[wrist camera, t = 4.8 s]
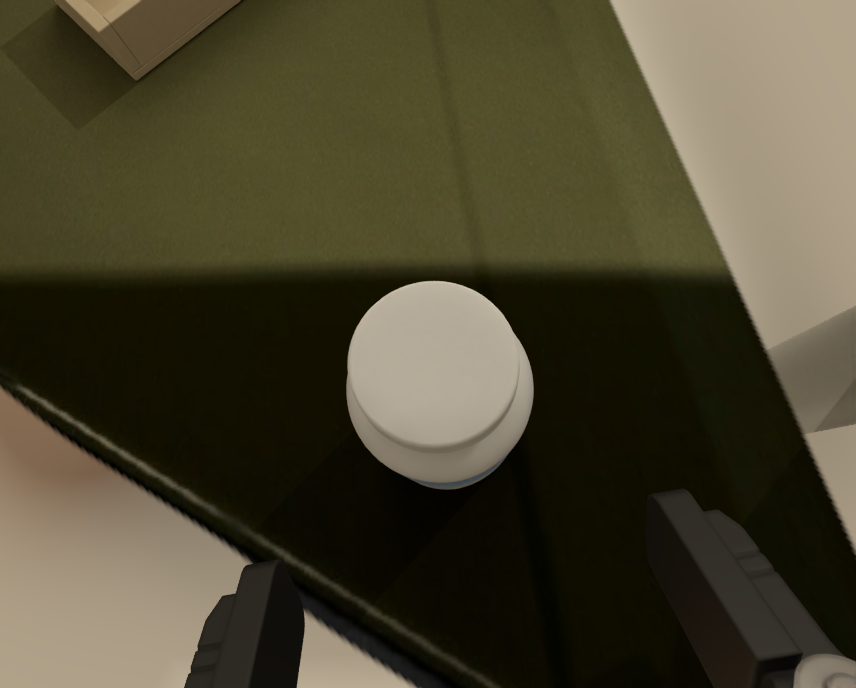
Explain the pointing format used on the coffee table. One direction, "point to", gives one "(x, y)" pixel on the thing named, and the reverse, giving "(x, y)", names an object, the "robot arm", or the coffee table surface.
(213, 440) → the coffee table surface
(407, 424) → the pill bottle
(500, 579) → the coffee table surface
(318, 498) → the coffee table surface
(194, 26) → the holder
